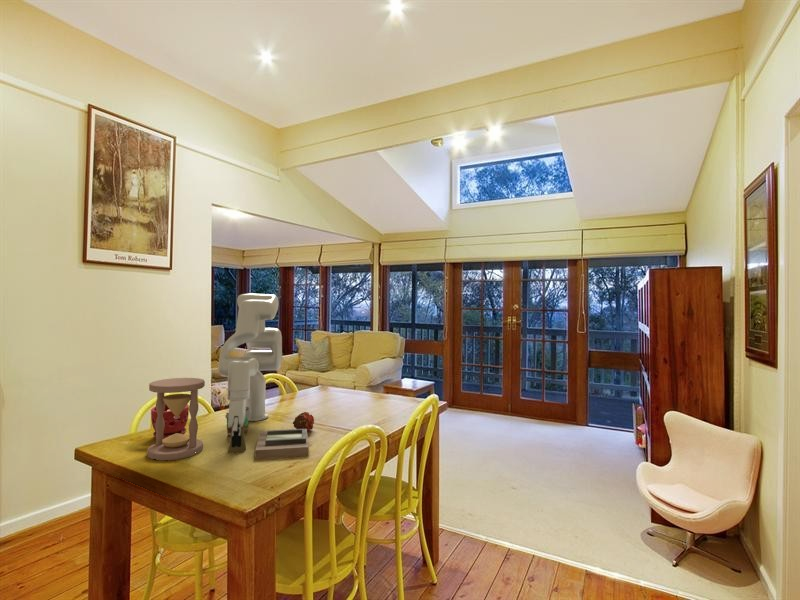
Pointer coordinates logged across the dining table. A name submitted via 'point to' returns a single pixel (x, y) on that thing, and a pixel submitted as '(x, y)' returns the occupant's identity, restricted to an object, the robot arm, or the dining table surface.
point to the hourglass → (176, 443)
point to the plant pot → (171, 421)
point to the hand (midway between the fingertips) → (237, 444)
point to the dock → (282, 443)
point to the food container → (245, 422)
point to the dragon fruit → (304, 421)
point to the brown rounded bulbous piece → (243, 447)
